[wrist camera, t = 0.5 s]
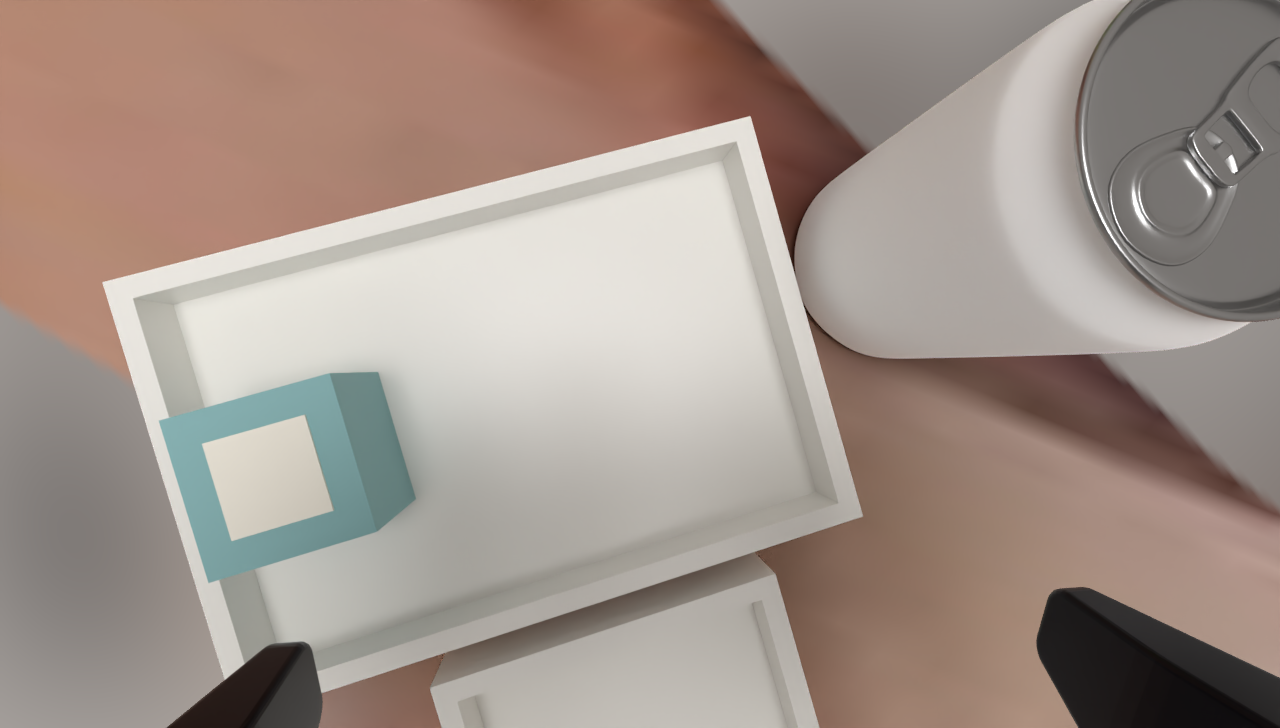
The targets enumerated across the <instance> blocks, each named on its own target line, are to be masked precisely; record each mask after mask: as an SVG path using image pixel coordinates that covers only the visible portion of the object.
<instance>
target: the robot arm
mask: <svg viewBox="0 0 1280 728" xmlns="http://www.w3.org/2000/svg"><path fill="white" fill-rule="evenodd" d="M1036 643H1037V651H1038V654H1039V657H1040V660H1041V662H1042V664H1043V665H1044V667H1045V669H1046V671H1047V673H1048V674H1049V676H1050V678H1051V680H1052V682H1053V683H1054V685H1055V687H1056V689H1057V690H1058V692H1059V694H1060V696H1061V698H1062V699H1063V701H1064V703H1065V705H1066V707H1067V708H1068V710H1069V712H1070V714H1071V716H1072V717H1073V719H1074V721H1075V723H1076V724H1077V726H1078V728H1280V678H1279V677H1277V676H1275V675H1272V674H1270V673H1268V672H1266V671H1264V670H1262V669H1260V668H1258V667H1255V666H1253V665H1251V664H1249V663H1247V662H1245V661H1243V660H1241V659H1239V658H1236V657H1234V656H1232V655H1230V654H1228V653H1226V652H1224V651H1222V650H1219V649H1217V648H1215V647H1213V646H1211V645H1209V644H1207V643H1205V642H1203V641H1200V640H1198V639H1196V638H1194V637H1192V636H1190V635H1188V634H1186V633H1183V632H1181V631H1179V630H1177V629H1175V628H1173V627H1171V626H1169V625H1167V624H1164V623H1162V622H1160V621H1158V620H1156V619H1154V618H1152V617H1150V616H1148V615H1145V614H1143V613H1141V612H1139V611H1137V610H1135V609H1133V608H1131V607H1128V606H1126V605H1124V604H1122V603H1120V602H1118V601H1116V600H1114V599H1112V598H1109V597H1107V596H1105V595H1103V594H1101V593H1099V592H1097V591H1095V590H1092V589H1090V588H1085V587H1076V588H1062V589H1056V590H1054V591H1053V592H1052V593H1051V594H1050V595H1049V597H1048V600H1047V603H1046V607H1045V610H1044V614H1043V617H1042V621H1041V624H1040V628H1039V631H1038V635H1037V640H1036ZM321 713H322V693H321V688H320V683H319V679H318V674H317V669H316V665H315V660H314V656H313V651H312V649H311V647H310V645H309V644H308V643H306V642H302V641H300V642H286V643H274V644H270V645H268V646H266V647H265V648H263V649H262V650H261V651H259V652H258V653H257V654H256V655H255V656H253V657H252V658H251V659H250V660H248V661H247V662H246V663H245V664H244V665H242V666H241V667H240V668H239V669H237V670H236V671H235V672H234V673H233V674H231V675H230V676H229V677H228V678H226V679H225V680H224V681H223V682H222V683H220V684H219V685H218V686H217V687H216V688H214V689H213V690H212V691H211V692H209V693H208V694H207V695H206V696H205V697H203V698H202V699H201V700H200V701H198V702H197V703H196V704H195V705H194V706H192V707H191V708H190V709H189V710H187V711H186V712H185V713H184V714H183V715H181V716H180V717H179V718H178V719H176V720H175V721H174V722H173V723H172V724H170V725H169V726H168V727H167V728H318V727H319V723H320V719H321Z"/></svg>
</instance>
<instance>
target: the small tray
mask: <svg viewBox="0 0 1280 728" xmlns="http://www.w3.org/2000/svg"><path fill="white" fill-rule="evenodd" d="M430 691H431V694H432V697H433V701H434V704H435V707H436V711H437V714H438V717H439V721H440V724H441V727H442V728H819V724H818V721H817V717H816V714H815V710H814V707H813V703H812V700H811V696H810V693H809V689H808V686H807V682H806V679H805V675H804V672H803V668H802V665H801V661H800V658H799V654H798V651H797V647H796V644H795V640H794V637H793V633H792V630H791V626H790V623H789V619H788V616H787V612H786V609H785V605H784V602H783V598H782V595H781V591H780V588H779V584H778V581H777V577H776V574H775V573H774V572H773V571H772V570H771V569H770V568H769V567H768V566H767V565H766V564H765V563H764V562H763V561H762V560H761V559H760V558H759V556H758V555H757V554H756V553H755V552H753V553H750V554H747V555H744V556H741V557H737V558H734V559H731V560H728V561H725V562H722V563H719V564H716V565H713V566H710V567H707V568H704V569H701V570H698V571H695V572H691V573H688V574H685V575H682V576H679V577H676V578H673V579H670V580H667V581H664V582H661V583H658V584H655V585H652V586H649V587H646V588H642V589H639V590H636V591H633V592H630V593H627V594H624V595H621V596H618V597H615V598H612V599H609V600H606V601H603V602H600V603H596V604H593V605H590V606H587V607H584V608H581V609H578V610H575V611H572V612H569V613H566V614H563V615H560V616H557V617H554V618H551V619H547V620H544V621H541V622H538V623H535V624H532V625H529V626H526V627H523V628H520V629H517V630H514V631H511V632H508V633H505V634H501V635H498V636H495V637H492V638H489V639H486V640H483V641H480V642H477V643H474V644H471V645H468V646H465V647H462V648H459V649H456V650H452V651H449V652H446V653H445V655H444V657H443V660H442V662H441V664H440V666H439V669H438V671H437V673H436V675H435V678H434V680H433V682H432V684H431V687H430Z"/></svg>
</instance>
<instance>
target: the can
mask: <svg viewBox="0 0 1280 728" xmlns="http://www.w3.org/2000/svg"><path fill="white" fill-rule="evenodd" d="M794 264H795V274H796V279H797V284H798V287H799V291H800V294H801V298H802V300H803V302H804V305H805V307H806V308H807V310H808V312H809V313H810V315H811V316H812V317H813V319H814V320H815V321H816V322H817V323H818V324H819V326H820V327H821V328H822V329H823V330H825V331H826V332H827V333H828V334H829V335H830V336H832V337H833V338H834V339H835V340H837V341H838V342H840V343H841V344H843V345H844V346H846V347H848V348H850V349H851V350H854V351H856V352H858V353H861V354H865V355H868V356H873V357H879V358H896V359H908V358H960V357H1001V356H1038V355H1072V354H1102V353H1128V352H1144V351H1161V350H1169V349H1177V348H1183V347H1189V346H1194V345H1198V344H1202V343H1205V342H1209V341H1211V340H1214V339H1217V338H1219V337H1222V336H1224V335H1227V334H1229V333H1231V332H1233V331H1235V330H1237V329H1239V328H1241V327H1243V326H1245V325H1247V324H1249V323H1250V322H1259V321H1268V320H1274V319H1279V318H1280V0H1093V1H1091V2H1088V3H1086V4H1084V5H1082V6H1080V7H1078V8H1077V9H1075V10H1073V11H1071V12H1069V13H1067V14H1065V15H1064V16H1062V17H1060V18H1059V19H1057V20H1056V21H1054V22H1052V23H1051V24H1049V25H1048V26H1046V27H1045V28H1043V29H1042V30H1040V31H1039V32H1037V33H1036V34H1034V35H1033V36H1031V37H1030V38H1029V39H1027V40H1026V41H1025V42H1023V43H1021V44H1020V45H1019V46H1017V47H1016V48H1015V49H1013V50H1012V51H1010V52H1009V53H1007V54H1006V55H1004V56H1003V57H1002V58H1000V59H999V60H997V61H996V62H995V63H993V64H992V65H990V66H989V67H988V68H986V69H985V70H984V71H982V72H981V73H979V74H978V75H976V76H975V77H974V78H972V79H971V80H969V81H968V82H967V83H965V84H964V85H962V86H961V87H960V88H958V89H957V90H955V91H954V92H953V93H951V94H950V95H948V96H947V97H946V98H944V99H943V100H941V101H940V102H939V103H938V104H936V105H935V106H933V107H932V108H930V109H929V110H928V111H927V112H925V113H923V114H922V115H921V116H920V117H918V118H917V119H915V120H914V121H912V122H911V123H910V124H908V125H907V126H905V127H904V128H903V129H901V130H900V131H899V132H897V133H896V134H894V135H893V136H892V137H890V138H889V139H888V140H886V141H885V142H883V143H882V144H881V145H879V146H878V147H877V148H875V149H874V150H872V151H871V152H870V153H868V154H867V155H866V156H864V157H863V158H861V159H860V160H859V161H857V162H856V163H855V164H853V165H852V166H851V167H849V168H848V169H847V170H845V171H844V172H843V173H841V174H840V175H839V176H837V177H836V178H835V179H834V180H832V181H831V182H830V183H829V184H828V185H827V186H826V187H824V188H823V190H822V191H821V192H820V193H819V194H818V195H817V196H816V197H815V199H814V200H813V201H812V203H811V204H810V206H809V207H808V209H807V211H806V213H805V215H804V217H803V219H802V222H801V224H800V227H799V230H798V234H797V238H796V244H795V254H794Z"/></svg>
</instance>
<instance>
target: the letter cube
mask: <svg viewBox="0 0 1280 728" xmlns="http://www.w3.org/2000/svg"><path fill="white" fill-rule="evenodd" d="M159 424H160V427H161V430H162V433H163V437H164V440H165V443H166V446H167V450H168V453H169V456H170V459H171V463H172V466H173V469H174V472H175V476H176V479H177V482H178V485H179V489H180V492H181V495H182V498H183V502H184V505H185V508H186V512H187V515H188V518H189V521H190V525H191V528H192V531H193V534H194V538H195V541H196V544H197V547H198V551H199V554H200V557H201V560H202V564H203V567H204V570H205V573H206V577H207V580H208V583H211V582H214V581H217V580H221V579H224V578H227V577H230V576H234V575H237V574H240V573H244V572H247V571H250V570H253V569H257V568H260V567H263V566H266V565H270V564H273V563H276V562H280V561H283V560H286V559H289V558H293V557H296V556H299V555H303V554H306V553H309V552H312V551H316V550H319V549H322V548H326V547H329V546H332V545H335V544H339V543H342V542H345V541H349V540H352V539H355V538H358V537H362V536H365V535H368V534H371V533H375V532H377V531H379V530H380V529H381V528H382V527H383V526H385V525H386V524H387V523H388V522H389V521H391V520H392V519H393V518H394V517H395V516H396V515H398V514H399V513H400V512H401V511H402V510H404V509H405V508H406V507H407V506H408V505H409V504H411V503H412V502H413V501H414V500H415V499H416V497H415V494H414V491H413V487H412V484H411V481H410V477H409V474H408V470H407V467H406V464H405V460H404V457H403V454H402V450H401V447H400V444H399V440H398V437H397V434H396V430H395V427H394V424H393V420H392V417H391V413H390V410H389V407H388V403H387V400H386V397H385V393H384V390H383V387H382V383H381V380H380V377H379V373H378V372H352V373H328V374H324V375H321V376H317V377H314V378H310V379H306V380H303V381H299V382H296V383H292V384H288V385H285V386H281V387H278V388H274V389H270V390H267V391H263V392H260V393H256V394H253V395H249V396H245V397H242V398H238V399H235V400H231V401H227V402H224V403H220V404H217V405H213V406H210V407H206V408H202V409H199V410H195V411H192V412H188V413H184V414H181V415H177V416H174V417H170V418H166V419H163V420H159Z"/></svg>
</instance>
